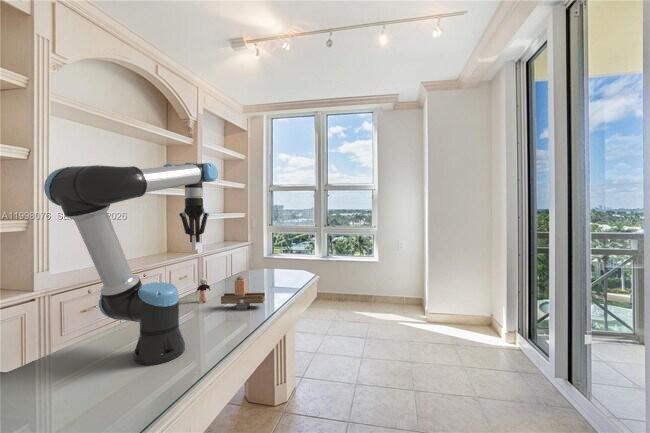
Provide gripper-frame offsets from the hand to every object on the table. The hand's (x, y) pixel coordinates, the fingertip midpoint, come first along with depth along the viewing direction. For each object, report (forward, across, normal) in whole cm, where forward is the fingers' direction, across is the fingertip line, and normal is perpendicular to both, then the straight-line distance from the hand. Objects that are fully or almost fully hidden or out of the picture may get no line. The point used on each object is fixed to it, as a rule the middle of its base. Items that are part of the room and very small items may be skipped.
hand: (195, 249), depth 138 cm
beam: (+30, -19, -10) cm, 37 cm away
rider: (+25, -18, -10) cm, 32 cm away
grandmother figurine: (+31, +4, -20) cm, 37 cm away
